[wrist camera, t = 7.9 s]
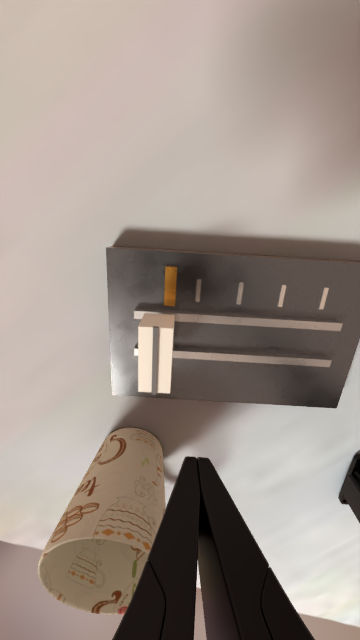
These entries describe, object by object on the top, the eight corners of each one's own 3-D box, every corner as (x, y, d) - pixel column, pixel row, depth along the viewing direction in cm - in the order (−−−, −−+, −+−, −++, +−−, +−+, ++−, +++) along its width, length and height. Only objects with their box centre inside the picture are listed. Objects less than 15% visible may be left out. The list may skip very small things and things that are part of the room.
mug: (147, 404, 24) (123, 521, 14) (206, 490, 27) (218, 628, 18) (74, 436, 25) (8, 561, 16) (140, 513, 29) (118, 652, 19)
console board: (368, 261, 19) (390, 266, 17) (327, 397, 23) (340, 413, 21) (111, 246, 19) (103, 248, 17) (116, 384, 23) (110, 399, 21)
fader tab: (176, 305, 19) (173, 328, 14) (173, 359, 20) (169, 395, 16) (148, 303, 19) (137, 326, 14) (147, 358, 20) (137, 393, 16)
